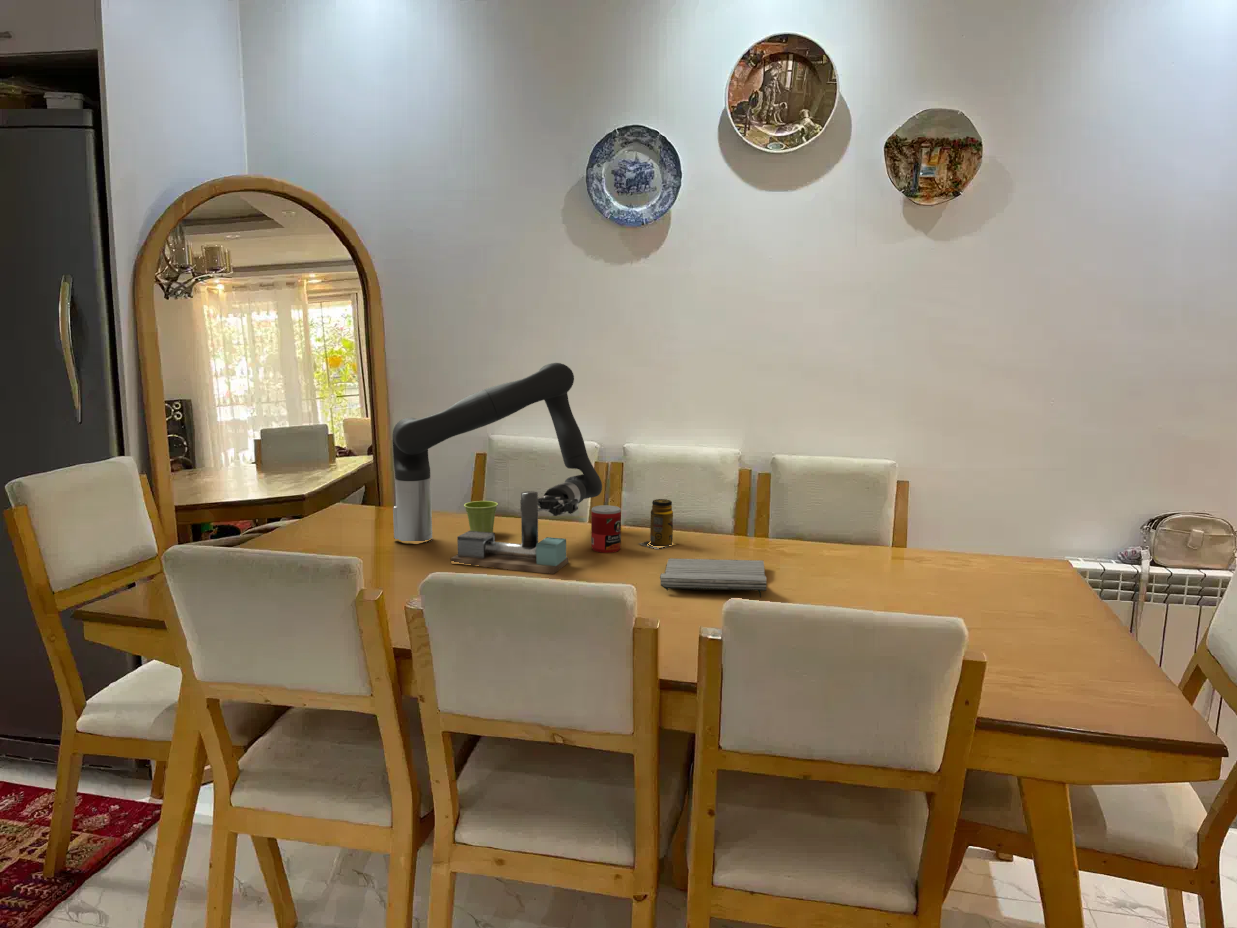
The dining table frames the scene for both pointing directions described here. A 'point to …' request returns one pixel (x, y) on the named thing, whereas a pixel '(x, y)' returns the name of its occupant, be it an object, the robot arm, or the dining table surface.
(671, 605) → the dining table surface
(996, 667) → the dining table surface
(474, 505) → the plant pot
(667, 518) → the condiment
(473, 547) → the sleeve
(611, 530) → the canned food
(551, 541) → the socket block
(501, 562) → the board
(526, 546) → the slide bolt
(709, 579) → the mat
